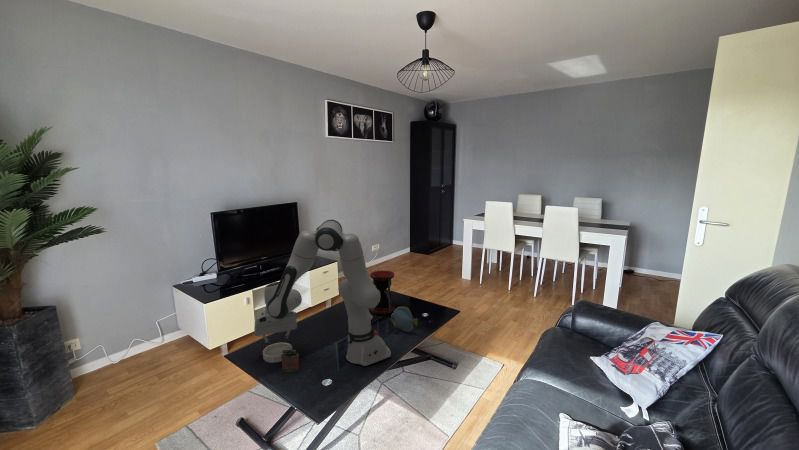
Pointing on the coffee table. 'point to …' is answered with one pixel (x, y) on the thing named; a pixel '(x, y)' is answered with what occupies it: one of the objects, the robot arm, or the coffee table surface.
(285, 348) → the ring dish
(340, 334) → the coffee table surface
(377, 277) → the hourglass
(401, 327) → the decorative fish sculpture
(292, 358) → the lighter
